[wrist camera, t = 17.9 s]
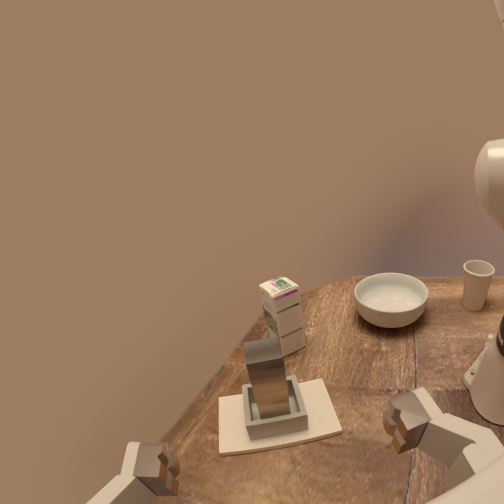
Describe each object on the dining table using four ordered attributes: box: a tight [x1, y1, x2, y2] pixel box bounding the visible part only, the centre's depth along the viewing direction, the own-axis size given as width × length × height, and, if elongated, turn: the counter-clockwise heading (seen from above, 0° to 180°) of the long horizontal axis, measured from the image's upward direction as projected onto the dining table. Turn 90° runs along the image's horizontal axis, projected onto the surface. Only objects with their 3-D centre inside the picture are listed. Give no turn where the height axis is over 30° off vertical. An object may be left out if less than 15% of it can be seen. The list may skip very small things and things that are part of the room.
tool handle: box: [244, 337, 291, 420], centre depth 38 cm, size 4×4×14 cm
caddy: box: [219, 375, 342, 456], centre depth 40 cm, size 12×18×5 cm, turn 95°
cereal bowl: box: [354, 273, 428, 328], centre depth 59 cm, size 17×17×7 cm
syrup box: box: [259, 276, 306, 357], centre depth 56 cm, size 6×6×14 cm
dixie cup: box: [463, 260, 495, 311], centre depth 52 cm, size 8×8×10 cm
